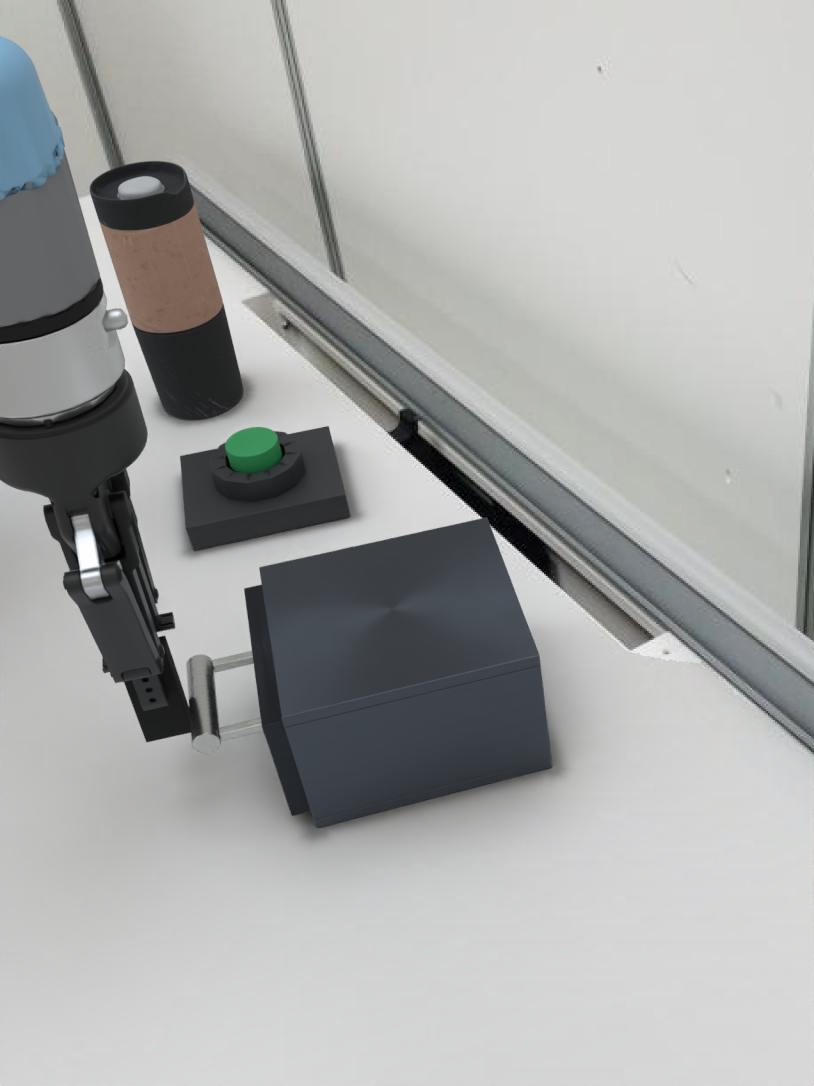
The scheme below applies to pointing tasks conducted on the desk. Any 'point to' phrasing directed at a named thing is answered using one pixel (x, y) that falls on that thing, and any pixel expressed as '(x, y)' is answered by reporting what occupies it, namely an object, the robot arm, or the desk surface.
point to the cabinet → (404, 670)
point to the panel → (262, 491)
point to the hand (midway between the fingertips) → (169, 728)
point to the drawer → (205, 700)
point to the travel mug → (169, 286)
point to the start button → (253, 450)
